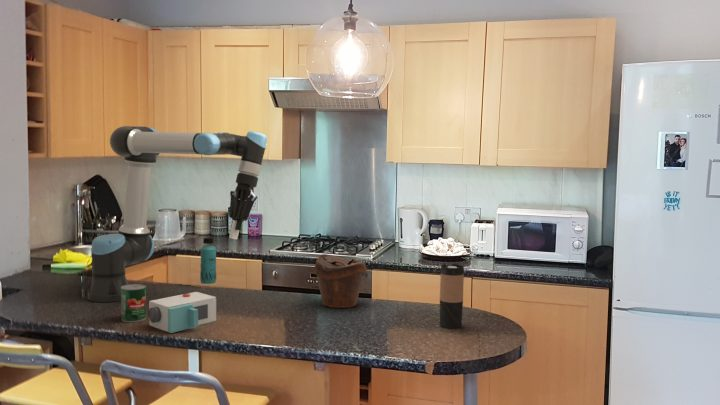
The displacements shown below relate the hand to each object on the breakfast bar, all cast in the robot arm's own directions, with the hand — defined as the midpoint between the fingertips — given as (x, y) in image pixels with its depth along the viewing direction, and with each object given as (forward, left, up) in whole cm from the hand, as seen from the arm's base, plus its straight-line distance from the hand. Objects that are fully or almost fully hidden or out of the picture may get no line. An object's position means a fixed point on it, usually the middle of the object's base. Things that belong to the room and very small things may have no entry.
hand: (233, 238), depth 231 cm
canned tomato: (-24, -25, -25) cm, 43 cm away
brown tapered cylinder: (+35, +17, -25) cm, 46 cm away
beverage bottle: (-25, +27, -25) cm, 44 cm away
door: (-1, -33, -24) cm, 41 cm away
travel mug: (+78, +2, -25) cm, 82 cm away
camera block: (-6, -24, -25) cm, 35 cm away
